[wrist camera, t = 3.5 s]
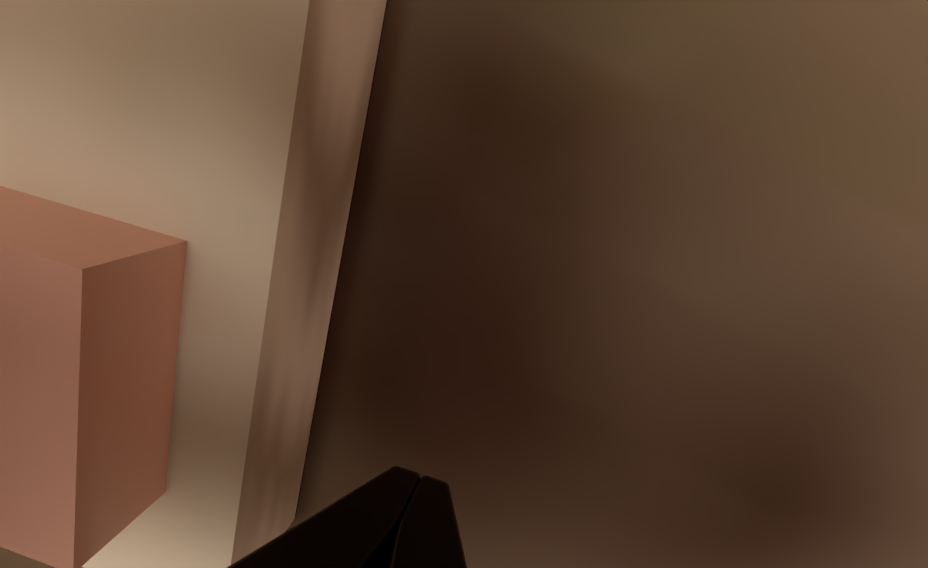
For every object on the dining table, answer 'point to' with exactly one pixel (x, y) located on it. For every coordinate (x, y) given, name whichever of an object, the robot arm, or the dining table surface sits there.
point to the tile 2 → (82, 375)
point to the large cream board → (207, 219)
